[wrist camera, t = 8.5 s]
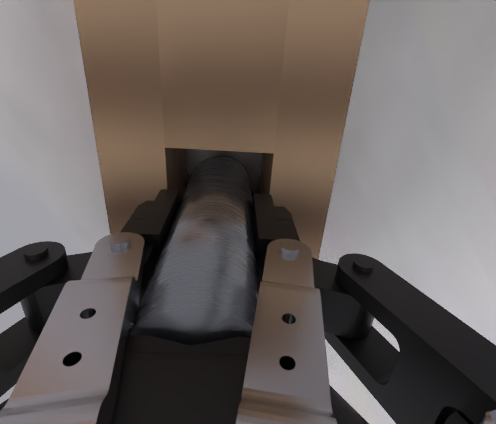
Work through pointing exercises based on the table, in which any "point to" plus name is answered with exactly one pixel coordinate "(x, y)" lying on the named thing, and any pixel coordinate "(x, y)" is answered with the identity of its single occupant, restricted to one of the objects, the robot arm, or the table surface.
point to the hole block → (220, 94)
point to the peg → (206, 262)
